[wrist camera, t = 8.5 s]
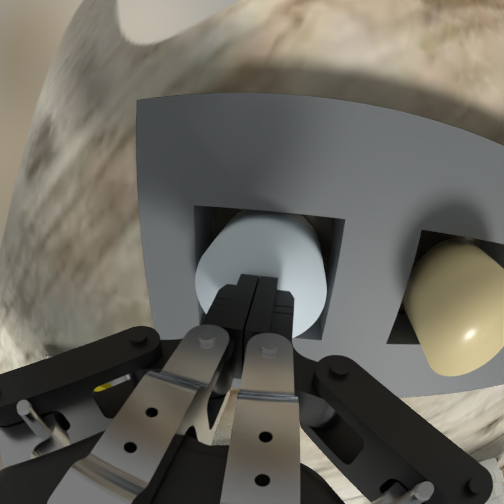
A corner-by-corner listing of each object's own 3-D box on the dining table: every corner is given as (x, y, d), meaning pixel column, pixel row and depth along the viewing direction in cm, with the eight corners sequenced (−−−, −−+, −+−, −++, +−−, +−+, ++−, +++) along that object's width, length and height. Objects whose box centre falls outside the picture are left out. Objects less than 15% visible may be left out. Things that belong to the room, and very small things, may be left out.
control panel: (582, 196, 9) (604, 206, 6) (523, 356, 16) (536, 375, 13) (165, 104, 13) (137, 100, 10) (179, 344, 20) (164, 373, 17)
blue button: (327, 209, 14) (337, 236, 10) (313, 303, 16) (314, 349, 13) (219, 200, 15) (192, 223, 11) (219, 292, 17) (198, 333, 13)
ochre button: (496, 244, 11) (537, 278, 7) (464, 328, 13) (490, 371, 10) (419, 231, 12) (456, 269, 8) (390, 327, 14) (408, 379, 10)
